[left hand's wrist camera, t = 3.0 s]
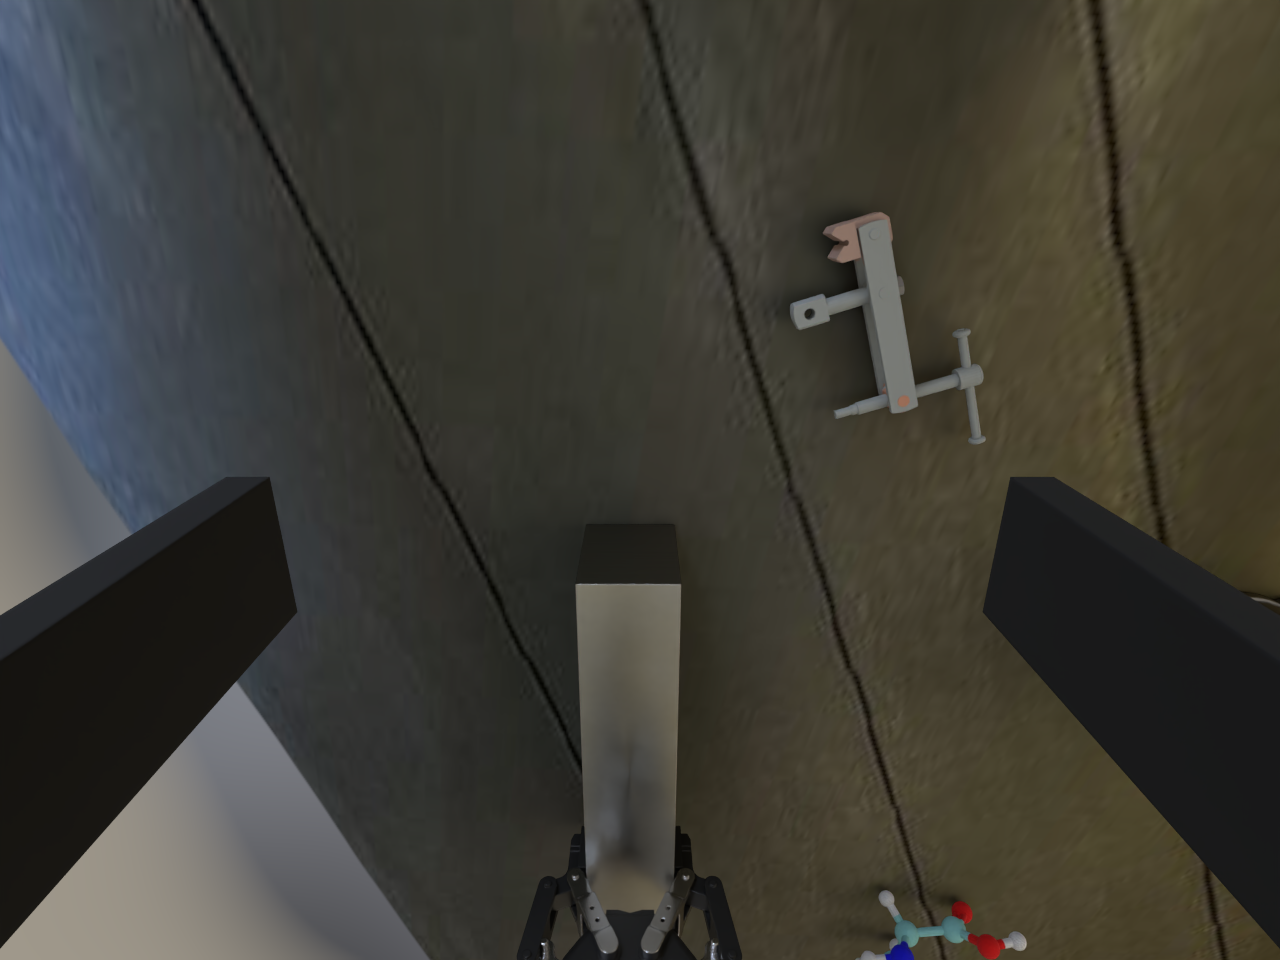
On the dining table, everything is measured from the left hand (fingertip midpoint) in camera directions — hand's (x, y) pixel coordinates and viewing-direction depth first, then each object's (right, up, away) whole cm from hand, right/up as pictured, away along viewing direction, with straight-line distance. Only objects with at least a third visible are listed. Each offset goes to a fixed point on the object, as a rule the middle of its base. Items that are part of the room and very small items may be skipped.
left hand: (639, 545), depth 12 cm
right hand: (-1, -25, +38) cm, 46 cm away
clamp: (+15, +10, +29) cm, 34 cm away
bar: (-1, -14, +38) cm, 41 cm away
